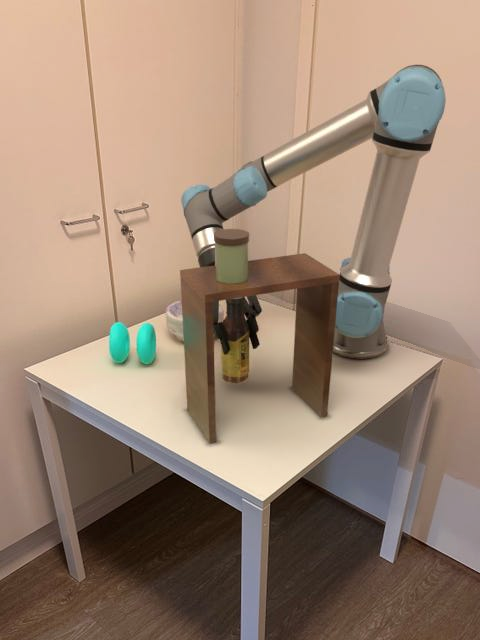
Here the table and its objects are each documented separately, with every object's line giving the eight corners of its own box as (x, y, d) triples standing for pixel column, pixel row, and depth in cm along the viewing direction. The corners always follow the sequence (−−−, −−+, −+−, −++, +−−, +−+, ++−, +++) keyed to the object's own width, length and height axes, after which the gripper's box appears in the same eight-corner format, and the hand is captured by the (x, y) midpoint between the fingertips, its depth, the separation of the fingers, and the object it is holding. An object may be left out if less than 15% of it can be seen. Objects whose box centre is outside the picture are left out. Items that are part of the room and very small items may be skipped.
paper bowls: (209, 353, 162) (208, 324, 157) (157, 342, 167) (154, 314, 162) (232, 330, 173) (232, 302, 169) (183, 321, 178) (182, 294, 174)
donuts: (151, 371, 153) (147, 333, 148) (110, 370, 154) (105, 332, 148) (158, 353, 162) (155, 316, 156) (119, 351, 162) (115, 315, 157)
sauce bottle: (246, 386, 142) (246, 302, 131) (219, 383, 143) (217, 300, 132) (251, 372, 147) (251, 291, 137) (225, 370, 148) (223, 289, 138)
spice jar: (248, 272, 120) (248, 228, 116) (250, 284, 115) (250, 238, 110) (214, 272, 120) (213, 229, 115) (214, 284, 114) (213, 239, 110)
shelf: (297, 386, 147) (305, 253, 130) (327, 416, 136) (339, 274, 119) (187, 410, 138) (179, 270, 121) (209, 443, 127) (204, 294, 110)
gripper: (247, 256, 148) (275, 348, 144) (169, 267, 142) (196, 363, 138) (257, 240, 141) (287, 335, 137) (175, 250, 135) (204, 351, 131)
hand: (241, 349), depth 138 cm, fingers closed on sauce bottle, 6 cm apart
